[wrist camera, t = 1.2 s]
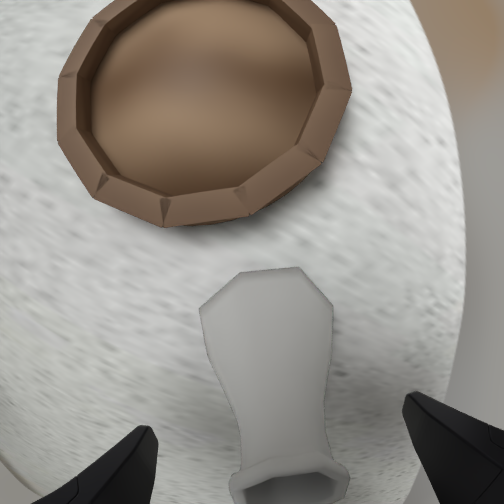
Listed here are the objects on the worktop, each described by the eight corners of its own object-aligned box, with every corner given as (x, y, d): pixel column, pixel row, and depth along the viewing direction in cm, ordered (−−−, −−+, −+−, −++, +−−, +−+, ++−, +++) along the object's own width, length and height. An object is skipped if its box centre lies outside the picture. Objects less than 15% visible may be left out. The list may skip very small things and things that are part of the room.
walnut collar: (355, 206, 14) (374, 210, 11) (88, 241, 14) (66, 250, 12) (310, -20, 10) (318, -42, 8) (81, 22, 11) (64, 8, 8)
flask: (348, 353, 16) (421, 489, 6) (236, 396, 16) (230, 543, 6) (307, 241, 14) (415, 348, 4) (176, 297, 15) (93, 445, 5)
